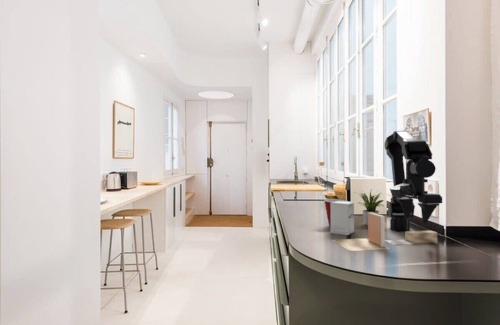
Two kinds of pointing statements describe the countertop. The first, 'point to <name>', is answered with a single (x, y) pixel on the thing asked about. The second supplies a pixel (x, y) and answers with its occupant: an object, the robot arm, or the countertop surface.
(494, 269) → the countertop surface
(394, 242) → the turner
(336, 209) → the supplement box
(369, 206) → the house plant
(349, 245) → the board
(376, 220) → the tile
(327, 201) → the plastic cup
